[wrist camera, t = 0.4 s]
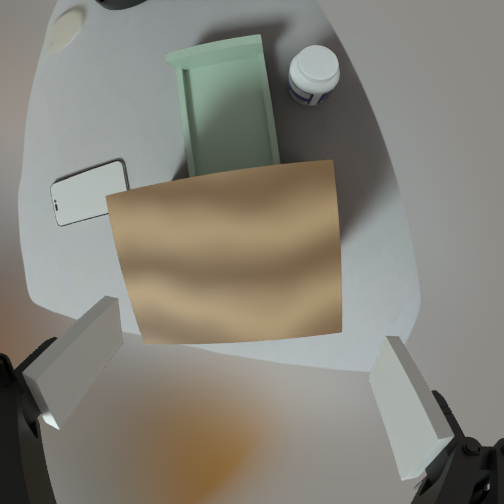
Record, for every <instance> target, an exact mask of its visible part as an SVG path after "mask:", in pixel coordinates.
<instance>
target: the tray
mask: <svg viewBox="0 0 504 504" xmlns="http://www.w3.org/2000/svg"><path fill="white" fill-rule="evenodd" d="M166 62H167V63H168V64H169V65H170V66H171V67H173V68H174V69H175V70H176V76H177V86H178V95H179V104H180V112H181V120H182V128H183V136H184V143H185V151H186V158H187V165H188V171H189V178H190V177H196V176H202V175H207V174H213V173H220V172H226V171H233V170H240V169H247V168H254V167H262V166H270V165H278V164H280V157H279V149H278V142H277V135H276V128H275V122H274V115H273V108H272V102H271V96H270V89H269V83H268V77H267V71H266V65H265V60H264V54H263V46H262V39H261V34H258V35H250V36H243V37H237V38H231V39H225V40H220V41H215V42H210V43H206V44H201V45H197V46H193V47H189V48H185V49H181V50H177V51H174V52H170V53H167V54H166Z"/></svg>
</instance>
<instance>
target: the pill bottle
mask: <svg viewBox="0 0 504 504" xmlns="http://www.w3.org/2000/svg"><path fill="white" fill-rule="evenodd" d="M339 78H340V70H339V63H338V59H337V57H336V55H335V54H334V53H333V52H332V51H331V50H330V49H328V48H326V47H324V46H320V45H312V46H308V47H306V48H304V49H303V50H302V51H301V52H300V53H298V54H297V55H296V56H295V57H294V58H293V59H292V61H291V64H290V68H289V77H288V91H289V93H290V95H291V96H292V98H293V99H294V100H295V101H297V102H298V103H300V104H303V105H307V106H314V105H318V104H320V103H322V102H323V101H325V100H326V99H327V97H328V96H329V95H330V93H331V92H332V90H333V89H334V88H335V87H336V85H337V83H338V81H339Z"/></svg>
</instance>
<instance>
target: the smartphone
mask: <svg viewBox="0 0 504 504" xmlns="http://www.w3.org/2000/svg"><path fill="white" fill-rule="evenodd" d="M127 190H129V188H128V184H127V177H126V171H125V166H124V163H123V162H122V161H120V160H117V161H113V162H110V163H107V164H104V165H101V166H98V167H95V168H92V169H90V170H87V171H84V172H81V173H79V174H76V175H73V176H70V177H68V178H65V179H63V180H60V181H58V182H55V183H53V184H52V185H51V189H50V191H51V197H52V202H53V207H54V212H55V217H56V221H57V224H58V225H59V226H65V225H69V224H72V223H77V222H79V221H84V220H87V219H91V218H95V217H98V216H102V215H106V214H109V213H108V208H107V202H106V197H105V196H106V195H110V194H115V193H119V192H123V191H127Z"/></svg>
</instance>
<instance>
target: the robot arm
mask: <svg viewBox="0 0 504 504" xmlns="http://www.w3.org/2000/svg"><path fill="white" fill-rule="evenodd" d="M95 1H96V2H97V3H99V4H100V5H101V6H103V7H104V8H106V9H110V10H121V9H126V8H130V7H133V6H136V5H138V4H140V3H143V2H145V1H146V0H95ZM122 345H123V338H122V329H121V321H120V312H119V301H118V298H113V297H109V296H105V297H104V298H102V299H101V300H100V301H99V302H98V303H97V304H95V305H94V306H93V307H92V308H91V309H90V310H89V311H87V312H86V313H85V314H84V315H83V316H82V317H81V318H80V319H78V320H77V321H76V322H75V323H74V324H73V325H72V326H71V327H70V328H68V329H67V330H66V331H65V332H64V333H63V334H62V335H61V336H60V337H59V338H56V337H53V338H51V339H49V340H46V341H45V342H44V343H42V344H41V345H40V346H39V347H38V349H36V350H35V351H34V352H33V354H31V355H29V356H28V357H27V358H26V359H25V360H24V361H23V362H22V363H21V364H20V365H19V366H18V367H17V368H16V369H15V370H14V369H13V366H12V364H11V362H10V359H9V358H8V356H7V355H5V354H2V353H0V504H57V503H56V500H55V497H54V493H53V490H52V486H51V482H50V478H49V474H48V470H47V465H46V461H45V455H44V451H43V444H42V438H41V431H40V424H39V421H38V419H37V417H38V416H39V415H40V414H42V416H43V418H44V420H45V422H46V423H48V424H50V425H52V426H54V427H55V428H57V429H60V428H61V427H62V426H63V424H64V423H65V421H66V420H67V419H68V417H69V416H70V414H71V413H72V412H73V410H74V409H75V407H76V406H77V405H78V403H79V402H80V400H81V399H82V398H83V396H84V395H85V394H86V392H87V391H88V390H89V388H90V387H91V385H92V384H93V383H94V381H95V380H96V379H97V377H98V376H99V375H100V373H101V372H102V371H103V370H104V368H105V367H106V365H107V364H108V363H109V362H110V360H111V359H112V358H113V356H114V355H115V354H116V353H117V351H118V350H119V349H120V347H121V346H122ZM368 379H369V382H370V385H371V387H372V390H373V393H374V396H375V399H376V401H377V404H378V407H379V410H380V413H381V416H382V419H383V422H384V425H385V428H386V431H387V434H388V436H389V440H390V444H391V447H392V450H393V453H394V456H395V460H396V463H397V467H398V470H399V473H400V477H401V480H406V479H411V478H416V477H418V476H419V475H420V474H421V473H422V472H423V471H424V470H426V473H427V476H426V477H425V478H424V479H423V480H422V481H421V482H420V483H419V484H417V485H416V486H415V488H414V489H415V490H416V489H417V488H418V487H419V486H420V487H419V489H418V491H417V493H416V495H415V497H414V499H413V501H412V502H411V504H504V438H502V439H500V440H499V441H498V442H497V443H496V444H495V445H494V446H493V447H483V446H481V444H480V443H479V442H478V441H477V440H476V439H474V438H471V437H465V436H464V434H463V432H462V430H461V428H460V426H459V424H458V422H457V420H456V419H455V417H454V415H453V414H452V411H451V410H450V408H449V407H448V404H447V402H446V401H445V399H444V397H443V396H441V394H439V393H438V392H437V391H436V390H433V391H431V390H430V388H429V387H428V385H427V383H426V381H425V379H424V378H423V376H422V374H421V373H420V371H419V369H418V368H417V366H416V364H415V362H414V361H413V359H412V357H411V356H410V354H409V352H408V351H407V349H406V348H405V346H404V344H403V343H402V341H401V339H400V338H399V336H385V339H384V341H383V344H382V347H381V349H380V352H379V354H378V357H377V359H376V361H375V364H374V366H373V368H372V371H371V373H370V375H369V378H368ZM489 483H490V489H489V490H487V485H488V484H489Z"/></svg>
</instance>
